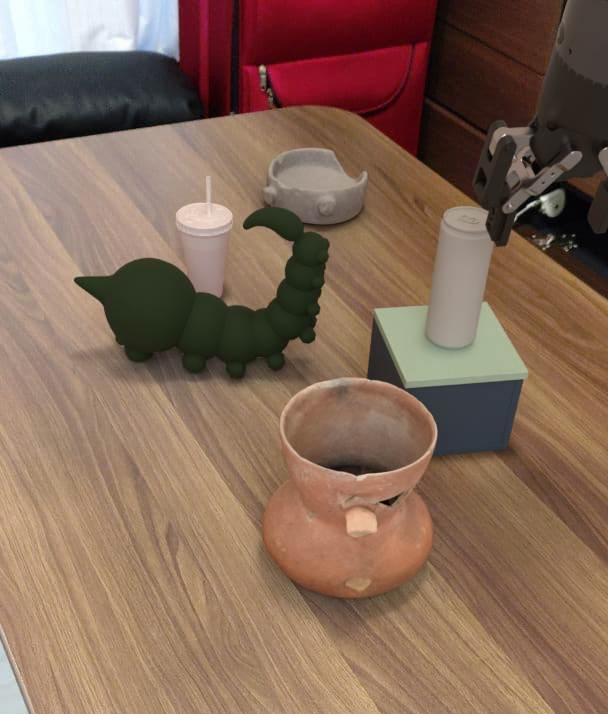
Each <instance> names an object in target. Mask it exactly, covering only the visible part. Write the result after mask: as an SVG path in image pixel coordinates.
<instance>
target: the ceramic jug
mask: <svg viewBox="0 0 608 714" xmlns="http://www.w3.org/2000/svg"><path fill="white" fill-rule="evenodd" d="M278 433H279V434H278V435H279V441H280V446H281V451H282V455H283V458H284V462H285V465H286V468H287V471H288V474H289V476H290V478H288V479H287V480H285V482H283V483H281V485H280V486H279V487H278V488H277V489H276V490H275V491H274V493H273V494H272V495H271V497H270V499H269V500H268V502H267V504H266V506H265V509H264V512H263V515H262V522H261V532H262V539H263V543H264V546H265V549H266V550H267V553H268V554H269V556H270V558H271V559H272V560H273V562H274V563H275V564H276V565H277V566H278V567H279V568H280V570H281V571H282V573H283V574H284V575H285V576H286V577H287V578H289V579H290V580H291V581H293V582H294V583H296V584H298V585H299V586H302V587H303V588H305V589H307V590H309V591H312V592H315V593H317V594H320V595H324V596H328V597H333V598H338V599H339V598H340V599H365V598H372V597H375V596H380V595H384V594H385V593H389V592H391V591H393V590H395V589H397V588H399V587H400V586H403V585H404V584H406V583H408V582H409V581H410V580H411V579H412V578H413V577H414V576H415V575H416V574H417V573H419V571H420V570H421V568H423V567H424V565H425V563H426V561H427V560H428V558H429V556H430V554H431V551H432V549H433V545H434V540H435V539H434V538H435V531H434V530H435V529H434V524H433V519H432V516H431V513H430V511H429V508H428V507H427V505H426V503H425V501H424V500H423V499H422V497H421V496H420V495H419V494H418V493H417V492H416V491H415V490H414V488H415V487H416V486H417V484H418V482H419V481H420V480H421V478H422V476H423V474H424V473H425V471H426V469H427V467H428V465H429V463H430V462H431V459H432V457H433V456H432V454H433V451H434V448H435V445H436V441H437V426H436V423H435V421H434V418H433V416H432V415H431V413H430V412H429V411H428V410H427V408H426V407H425V406H424V405H423V404H422V403H421V402H420V401H418V400H417V399H416V398H415V397H414V396H412V395H411V394H409V393H407V392H406V391H404V390H402V389H400V388H398V387H396V386H394V385H392V384H389V383H386V382H382V381H377V380H369V379H367V377H366V378H365V377H353V376H351V377H350V376H349V377H348V376H347V377H338V378H334V379H328V380H324V381H319V382H315V383H313V384H311V385H308V386H306V387H305V388H303V389H301V390H299V392H297V393H295V394H294V395H293V396H292V398H290V399H289V400H288V402H287V403H286V404H285V406H284V407H283V409H282V411H281V414H280V418H279V423H278Z"/></svg>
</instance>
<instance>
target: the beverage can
mask: <svg viewBox="0 0 608 714" xmlns="http://www.w3.org/2000/svg"><path fill="white" fill-rule="evenodd" d="M488 212H489V210H486V209H483V208H482V207H478V206H477V207H476V206H470V205H460V206H459V205H458V206H454V207H451V208H448V209H447V210H445V211H444V213H443V215H442V219H441V220H440V224H439V225H440V226H439V233H438V239H437V245H436V252H435V259H434V265H433V267H434V268H433V272H432V279H431V286H430V290H429V291H430V292H429V299H428V304H427V305H428V312H427V318H426V325H425V333H426V335H427V337H428V339H429V340H430V341H431V342H432V343H433V344H434V345H436V346H438V347H440V348H443V349H449V350H457V349H462V348H465V347H467V346H468V345H469V344H471V343H472V342H473V341H474V339H475V337H476V332H477V327H478V322H479V317H480V311H481V306H482V302H484V297H485V290H486V286H487V280H488V275H489V269H490V264H491V259H492V254H493V251H494V250H493V249H494V245H495V243H494V241H491V238H490V236H489V234H488V232H487V230H486V226H485V223H486V219H487V216H488Z"/></svg>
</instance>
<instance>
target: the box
mask: <svg viewBox="0 0 608 714" xmlns="http://www.w3.org/2000/svg"><path fill="white" fill-rule="evenodd" d="M371 325H372V326H371V336H370V345H369V351H368V352H369V353H368V363H367V372H366V379H369V380H377V381H382V382H386V383H389V384H392V385H394V386H396V387H398V388H400V389H402V390H404V391H406V392H407V393H409V394H411V395H412V396H414V397H415V398H416V399H417V400H418V401H420V402H421V403H422V404H423V405H424V406H425V407H426V408H427V410H428V411H429V412H430V413H431V415H432V416H433V418H434V421H435V423H436V426H437V441H436V445H435V448H434V451H433V454H432V457H441V456H442V457H443V456H455V455H462V454H473V453H474V454H475V453H485V452H496V451H497V452H498V451H507V450H508V447H509V442H510V438H511V434H512V430H513V426H514V422H515V417H516V414H517V409H518V405H519V401H520V396H521V392H522V389H523V384H524V380H525V379H520V380H507V381H494V382H481V383H468V384H455V385H443V386H430V387H417V388H405V387H404V385H403V382H402V380H401V378H400V375H399V373H398V371H397V369H396V366H395V364H394V362H393V359H392V357H391V355H390V353H389V350H388V348H387V346H386V343H385V341H384V339H383V337H382V334H381V332H380V330H379V327H378V325H377V323H376V321H375V318H374V316H372V324H371Z"/></svg>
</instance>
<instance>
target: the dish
mask: <svg viewBox="0 0 608 714" xmlns="http://www.w3.org/2000/svg"><path fill="white" fill-rule="evenodd" d="M368 175H369V174H368V172H367V171H366V170H363V171H362V172H361V174H360V175H359V176H358V177H357V178H353V177H350V176H349V175H348V174H347V172H345V169H344V168H343V166H342V165H341V164H340V162H339V160H338V158H337V156H336V154H335V152H334V150H332V149H327V148H320V147H301V148H295V149H291V150H286V151H283V152H281V153H279V154H278V155H277V156H276V157H273V159H271V161H270V162H269V165H268V169H267V173H266V182H265V183H266V184H265V185H266V186H263V187H262V188H261V197H262V199H263V200H264V202H265V203H266V204H267V205H269V207H280V208H285V209H287V210H290V211H292V212H294V213H295V214H296V215H298V216H299V217H300V219H301V221H302V223H303V224H305V223H306V224H311V225H335V224H339V223H343V222H347V221H348V220H351V219H353V218H355V217H356V216H357V215H358V214H359V213H360V212H361V210H362V209H363V206H364V203H365V200H366V196H367V191H368V185H369V184H368V183H369V176H368Z"/></svg>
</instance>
